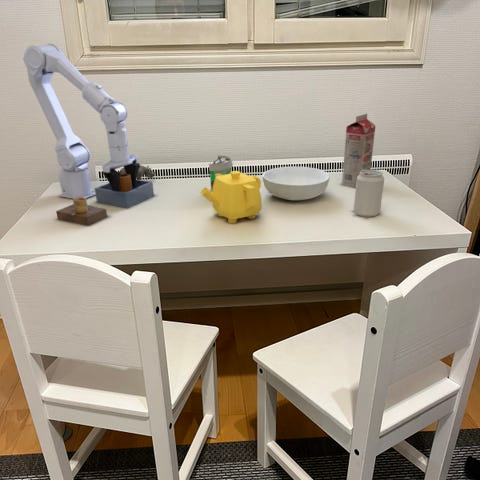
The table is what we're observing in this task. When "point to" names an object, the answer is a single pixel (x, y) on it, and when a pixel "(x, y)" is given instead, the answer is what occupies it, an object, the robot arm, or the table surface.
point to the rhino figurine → (141, 172)
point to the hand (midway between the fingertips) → (124, 189)
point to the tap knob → (80, 205)
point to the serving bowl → (295, 182)
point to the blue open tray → (125, 194)
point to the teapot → (235, 195)
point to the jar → (125, 182)
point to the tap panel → (82, 215)
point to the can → (368, 193)
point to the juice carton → (357, 149)
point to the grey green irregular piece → (220, 168)
